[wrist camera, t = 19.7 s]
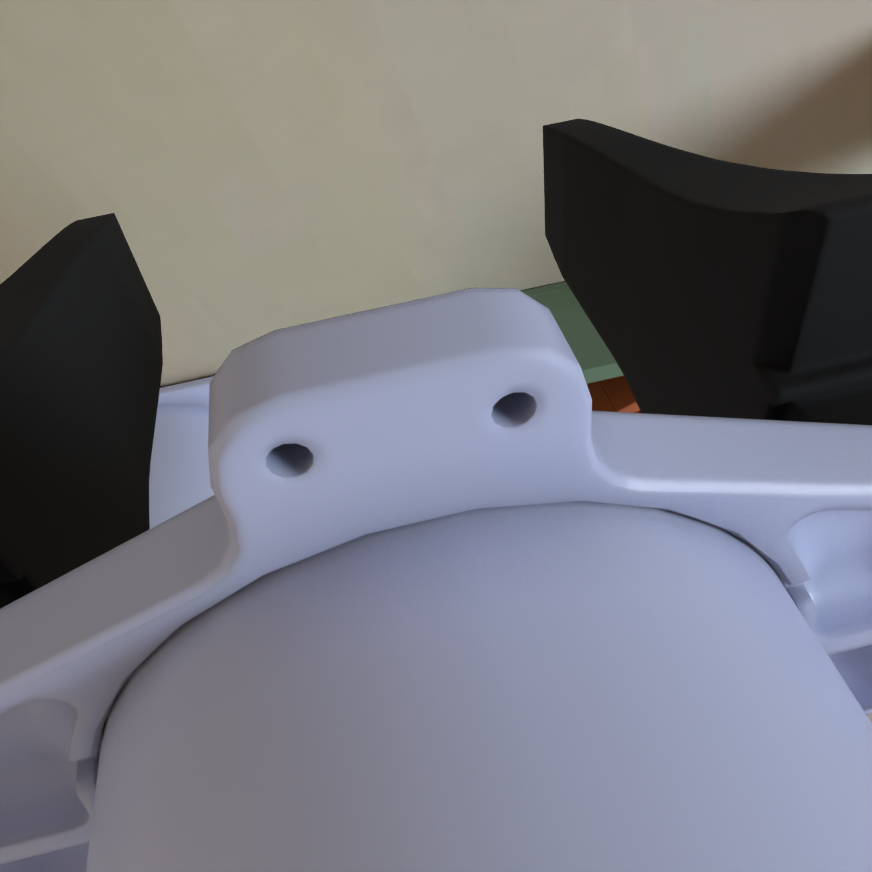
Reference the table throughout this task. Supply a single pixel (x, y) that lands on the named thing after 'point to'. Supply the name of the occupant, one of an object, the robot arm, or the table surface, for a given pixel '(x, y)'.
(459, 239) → the table surface
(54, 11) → the table surface
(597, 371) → the sage tub
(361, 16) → the table surface
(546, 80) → the table surface
